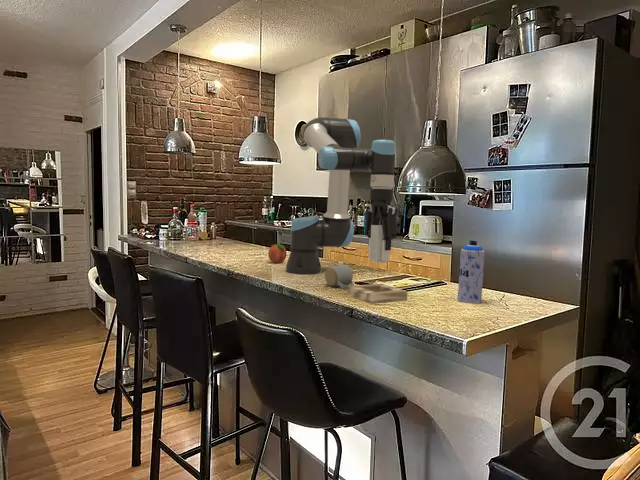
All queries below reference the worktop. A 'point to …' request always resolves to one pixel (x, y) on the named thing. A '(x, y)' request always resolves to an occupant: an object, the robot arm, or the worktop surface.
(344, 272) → the ceramic mug
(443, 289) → the worktop surface
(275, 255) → the fruit
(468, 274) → the aerosol can
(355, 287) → the socket block
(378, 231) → the skincare box
